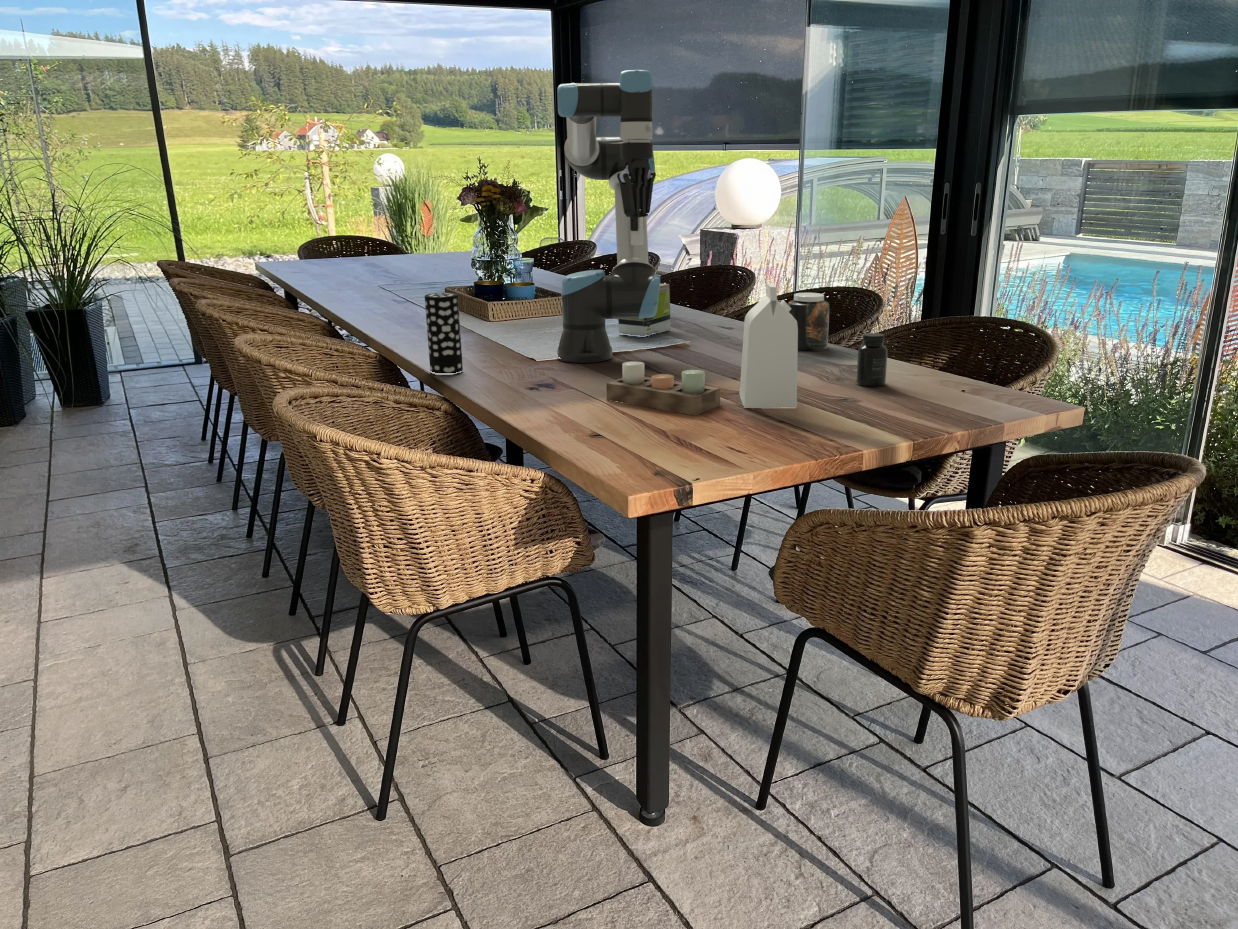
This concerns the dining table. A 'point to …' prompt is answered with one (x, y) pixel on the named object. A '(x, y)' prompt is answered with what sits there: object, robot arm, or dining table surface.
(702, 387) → the pale green domed cylinder
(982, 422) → the dining table surface
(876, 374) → the supplement bottle
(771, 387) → the milk
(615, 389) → the wooden compartment tray
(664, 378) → the peach rounded cylinder
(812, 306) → the jar
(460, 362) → the white-spotted black cylinder
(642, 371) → the off-white button
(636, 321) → the tea box
